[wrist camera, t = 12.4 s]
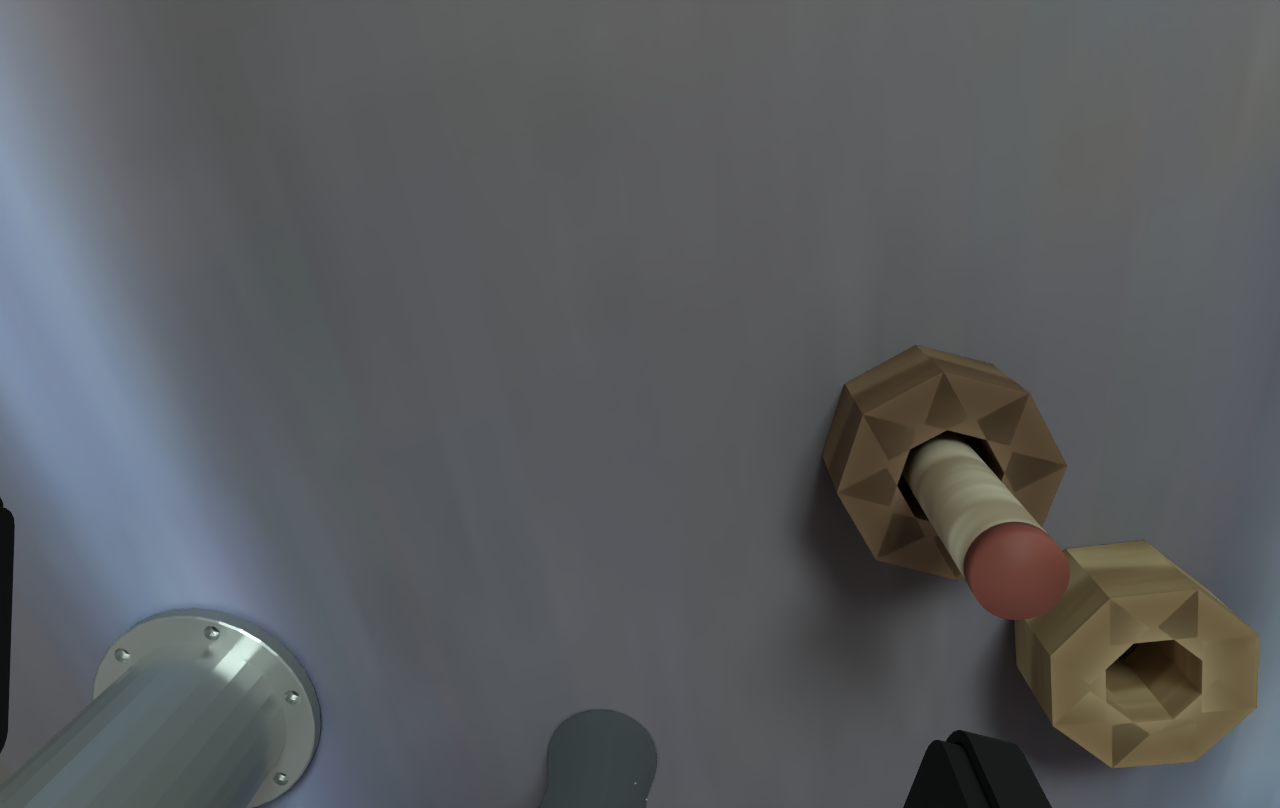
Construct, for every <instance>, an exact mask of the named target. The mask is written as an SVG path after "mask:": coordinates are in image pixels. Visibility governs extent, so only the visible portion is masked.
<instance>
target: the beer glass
mask: <svg viewBox="0 0 1280 808" xmlns="http://www.w3.org/2000/svg"><path fill="white" fill-rule="evenodd" d="M656 768H657V753H656V748H655V745H654V742H653V740H652V738H651V737H650V735H649V734H648V732H647V731H646V730H645V729H644V728H643V727H642V726H641V725H640V724H639V723H638V722H636V721H635V720H633V719H632V718H630V717H628V716H626V715H624V714H621V713H618V712H615V711H610V710H590V711H585V712H581V713H579V714H576V715H574V716H572V717H570V718H569V719H567V720H566V721H565V722H563V723H562V724H561V725H560V726H559V727H558V729H557V730H556V731H555V733H554V735H553V737H552V739H551V741H550V745H549V749H548V784H547V789H546V792H545V795H544V798H543V800H542V802H541V804H540V806H539V808H646V804H647V800H648V799H647V798H648V794H649V791H650V788H651V786H652V783H653V780H654V777H655V773H656Z"/></svg>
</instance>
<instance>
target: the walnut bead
mask: <svg viewBox="0 0 1280 808" xmlns="http://www.w3.org/2000/svg"><path fill="white" fill-rule="evenodd" d="M946 430H949V431H953V432H957V433H961V434H965V435H969V436H971V437H970V440H969V442H968V444H969V446H970V447H971V448H972V449H973V450H974V451H975V452H976V453H977V455H978V456H979V457H980V458H981V459H982V460H983V461H984V463H985V464H986V465H987V466H988V467H989V468H990V469H991V471H992V472H993V473H994V474H995V475H996V476H997V477H998V478H999V480H1000V481H1001V482H1002V483H1003V484H1004V485H1005V486H1006V488H1007V489H1008V490H1009V491H1010V492H1011V493H1012V494H1013V495H1014V497H1015V498H1016V499H1017V500H1018V501H1019V502H1020V503H1021V505H1022V506H1023V507H1024V508H1025V509H1026V510H1027V511H1028V512H1029V514H1030V515H1031V516H1032V517H1033V518H1034V519H1035V520H1036V522H1037V523H1038V524H1039V525H1040V526H1041V527H1042V526H1043V523H1044V521H1045V519H1046V516H1047V514H1048V511H1049V509H1050V506H1051V504H1052V502H1053V499H1054V497H1055V494H1056V492H1057V489H1058V487H1059V485H1060V482H1061V480H1062V477H1063V475H1064V472H1065V470H1066V468H1067V464H1066V462H1065V460H1064V458H1063V457H1062V455H1061V453H1060V451H1059V449H1058V447H1057V445H1056V443H1055V441H1054V439H1053V437H1052V435H1051V433H1050V431H1049V429H1048V427H1047V426H1046V424H1045V422H1044V420H1043V418H1042V416H1041V414H1040V412H1039V410H1038V408H1037V406H1036V404H1035V402H1034V400H1033V398H1032V396H1031V395H1030V393H1029V392H1028V391H1026V390H1025V389H1024V388H1023V387H1021V386H1020V385H1019V384H1017V383H1016V382H1015V381H1013V380H1012V379H1011V378H1009V377H1008V376H1007V375H1006V374H1004V373H1003V372H1002V371H1000V370H999V369H998V368H996V367H995V366H994V365H993V364H989V363H985V362H981V361H977V360H973V359H969V358H965V357H961V356H957V355H953V354H949V353H945V352H941V351H937V350H933V349H929V348H925V347H921V346H917V345H915V346H913V347H911V348H910V349H908V350H906V351H904V352H902V353H900V354H899V355H897V356H895V357H893V358H891V359H889V360H888V361H886V362H884V363H882V364H880V365H878V366H876V367H875V368H873V369H871V370H869V371H867V372H865V373H864V374H862V375H860V376H858V377H856V378H854V379H853V380H851V381H849V382H847V383H845V384H844V388H843V391H842V394H841V397H840V400H839V403H838V406H837V409H836V412H835V416H834V419H833V422H832V425H831V428H830V431H829V434H828V437H827V440H826V443H825V447H824V450H823V453H822V456H823V459H824V461H825V464H826V467H827V469H828V472H829V474H830V477H831V480H832V482H833V485H834V487H835V490H836V493H837V494H838V496H839V498H840V499H841V501H842V503H843V504H844V506H845V508H846V510H847V511H848V513H849V515H850V516H851V518H852V520H853V521H854V523H855V525H856V527H857V528H858V530H859V532H860V533H861V535H862V537H863V539H864V540H865V542H866V544H867V545H868V547H869V549H870V550H871V552H872V554H873V556H874V557H875V559H876V560H877V561H881V562H885V563H889V564H893V565H897V566H901V567H905V568H909V569H913V570H917V571H921V572H925V573H929V574H933V575H937V576H941V577H945V578H949V579H953V580H959V579H961V578H963V575H962V574H961V572H960V570H959V569H958V567H957V566H956V564H955V562H954V561H953V559H952V557H951V556H950V554H949V552H948V551H947V549H946V547H945V546H944V544H943V542H942V541H941V539H940V537H939V536H938V534H937V532H936V531H935V529H934V527H933V526H932V524H931V522H930V521H929V519H928V517H927V516H926V514H925V512H924V511H923V509H922V507H921V506H920V504H919V502H918V501H917V499H916V497H915V496H914V494H913V492H912V491H911V489H910V487H909V486H908V484H907V482H906V481H905V480H903V479H900V476H901V473H902V471H903V468H904V465H905V462H906V459H907V456H908V454H909V451H910V449H912V448H914V447H916V446H918V445H920V444H921V443H923V442H925V441H927V440H929V439H931V438H933V437H935V436H937V435H939V434H941V433H943V432H945V431H946Z"/></svg>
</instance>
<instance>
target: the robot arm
mask: <svg viewBox="0 0 1280 808" xmlns="http://www.w3.org/2000/svg"><path fill="white" fill-rule="evenodd" d="M14 529H15V525H14V517H13V515H12V513H11V512H10V511H9V510H7V509H6V508H3V502H2V500H1V498H0V753H1V751H2V749H3V747H4V744H5V741H6V738H7V732H8V709H9V679H10V649H11V619H12V589H13V559H14ZM320 729H321V721H320V707H319V704H318V700H317V697H316V693H315V690H314V688H313V686H312V684H311V682H310V680H309V678H308V676H307V674H306V672H305V670H304V669H303V668H302V666H301V665H300V664H299V662H298V661H297V660H296V658H295V657H294V656H293V654H292V653H291V652H290V651H289V650H287V649H286V648H285V647H284V646H283V645H282V644H281V643H280V642H279V641H278V640H277V639H276V638H274V637H273V636H271V635H270V634H268V633H267V632H265V631H264V630H262V629H261V628H260V627H258V626H256V625H254V624H252V623H249V622H247V621H245V620H243V619H241V618H239V617H236V616H233V615H229V614H226V613H222V612H219V611H214V610H206V609H197V608H191V609H174V610H170V611H166V612H162V613H158V614H154V615H152V616H150V617H148V618H146V619H144V620H142V621H140V622H138V623H137V624H135V625H134V626H133V627H131V628H130V629H129V630H128V631H126V632H125V633H124V634H123V635H121V636H120V637H119V638H118V639H117V640H116V641H115V642H114V643H113V644H112V645H111V646H110V647H109V648H108V650H107V652H106V653H105V655H104V657H103V658H102V660H101V662H100V663H99V666H98V669H97V672H96V676H95V679H94V687H93V701H92V702H91V703H90V704H89V705H88V706H87V707H86V708H85V709H84V710H83V711H82V712H80V713H79V714H78V715H77V716H76V717H75V718H74V719H73V720H72V721H71V722H70V723H68V724H67V725H66V726H65V727H64V728H63V729H62V730H61V731H60V732H59V733H58V734H57V735H55V736H54V737H53V738H52V739H51V740H50V741H49V742H48V743H47V744H46V745H45V746H43V747H42V748H41V749H40V750H39V751H38V752H37V753H36V754H35V755H34V756H33V757H32V758H30V759H29V760H28V761H27V762H26V763H25V764H24V765H23V766H22V767H21V768H20V769H18V770H17V771H16V772H15V773H14V774H13V775H12V776H11V777H10V778H9V779H8V780H7V781H5V782H4V783H3V784H2V785H1V786H0V808H254V807H258V806H261V805H263V804H265V803H268V802H270V801H272V800H275V799H276V798H278V797H279V796H280V795H282V794H283V793H285V792H286V791H288V790H289V789H290V788H291V787H292V786H293V785H294V784H295V783H296V781H297V780H298V779H299V778H300V777H301V776H302V774H303V773H304V771H305V769H306V768H307V766H308V765H309V763H310V762H311V760H312V758H313V755H314V753H315V750H316V748H317V745H318V742H319V735H320ZM903 808H1052V807H1051V805H1050V803H1049V801H1048V799H1047V798H1046V796H1045V794H1044V792H1043V790H1042V788H1041V786H1040V784H1039V782H1038V780H1037V779H1036V777H1035V775H1034V773H1033V771H1032V769H1031V767H1030V765H1029V763H1028V762H1027V760H1026V758H1025V756H1024V754H1023V752H1022V751H1021V750H1020V748H1019V747H1018V746H1017V745H1015V744H1013V743H1010V742H1006V741H1002V740H998V739H994V738H990V737H986V736H982V735H978V734H974V733H970V732H966V731H962V730H957V731H954V732H953V733H952V734H951V735H950V736H949V737H948V739H947V741H946V742H944V741H940V740H935V741H933V742H932V743H931V744H930V745H929V746H928V748H927V750H926V752H925V755H924V757H923V760H922V762H921V765H920V767H919V770H918V772H917V775H916V777H915V780H914V782H913V785H912V787H911V790H910V792H909V795H908V797H907V800H906V802H905V804H904V807H903Z"/></svg>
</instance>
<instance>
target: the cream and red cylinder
mask: <svg viewBox="0 0 1280 808" xmlns="http://www.w3.org/2000/svg"><path fill="white" fill-rule="evenodd" d="M901 474H902V476H903V477H904V479H905V481H906V482H907V484H908V486H909V487H910V489H911V491H912V492H913V494H914V496H915V497H916V499H917V501H918V502H919V504H920V506H921V507H922V509H923V511H924V512H925V514H926V516H927V517H928V519H929V521H930V522H931V524H932V526H933V527H934V529H935V531H936V532H937V534H938V536H939V537H940V539H941V541H942V542H943V544H944V546H945V547H946V549H947V551H948V552H949V554H950V556H951V557H952V559H953V561H954V562H955V564H956V566H957V567H958V569H959V570H960V572H961V574H962V575H963V577H964V579H965V580H966V582H967V584H968V585H969V587H970V589H971V590H972V592H973V594H974V595H975V597H976V599H977V600H978V602H979V603H980V604H981V605H982V607H983V608H985V609H986V610H987V611H988V612H990V613H992V614H993V615H995V616H998V617H1001V618H1004V619H1009V620H1024V619H1030V618H1033V617H1036V616H1039V615H1041V614H1043V613H1045V612H1047V611H1048V610H1050V609H1051V608H1052V607H1054V606H1055V605H1056V604H1057V603H1058V602H1059V601H1060V599H1061V598H1062V597H1063V595H1064V593H1065V592H1066V590H1067V587H1068V584H1069V579H1070V567H1069V563H1068V560H1067V558H1066V556H1065V554H1064V553H1063V551H1062V550H1061V549H1060V548H1059V547H1058V545H1057V544H1056V543H1055V542H1054V541H1053V540H1052V539H1051V537H1050V536H1049V535H1048V534H1047V533H1046V532H1045V531H1044V529H1043V528H1042V527H1041V526H1040V525H1039V524H1038V523H1037V522H1036V520H1035V519H1034V518H1033V517H1032V516H1031V515H1030V514H1029V512H1028V511H1027V510H1026V509H1025V508H1024V507H1023V506H1022V505H1021V503H1020V502H1019V501H1018V500H1017V499H1016V498H1015V497H1014V495H1013V494H1012V493H1011V492H1010V491H1009V490H1008V489H1007V488H1006V486H1005V485H1004V484H1003V483H1002V482H1001V481H1000V480H999V478H998V477H997V476H996V475H995V474H994V473H993V472H992V471H991V469H990V468H989V467H988V466H987V465H986V464H985V463H984V461H983V460H982V459H981V458H980V457H979V456H978V455H977V453H976V452H975V451H974V450H973V449H972V448H971V447H970V446H969V444H968V443H967V442H966V441H965V440H964V439H963V438H962V436H961V435H960V434H959V433H957V432H953V431H949V430H946V431H945V432H943V433H941V434H939V435H937V436H935V437H933V438H931V439H929V440H927V441H925V442H923V443H921V444H920V445H918V446H916V447H914V448H912V449H910V451H909V454H908V456H907V459H906V462H905V465H904V468H903V471H902V473H901Z"/></svg>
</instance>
